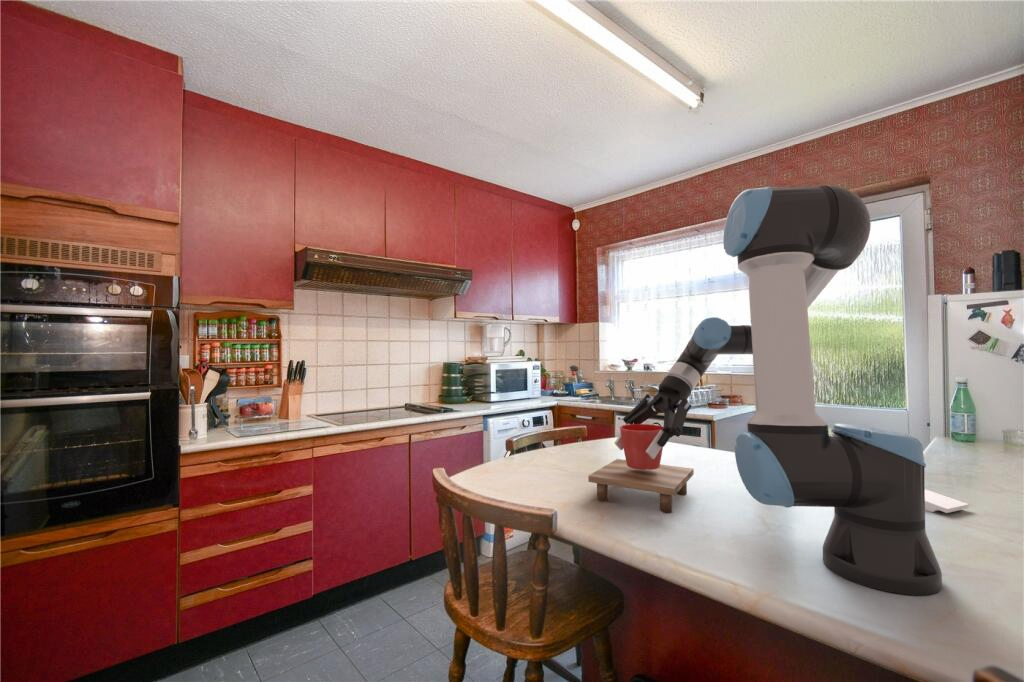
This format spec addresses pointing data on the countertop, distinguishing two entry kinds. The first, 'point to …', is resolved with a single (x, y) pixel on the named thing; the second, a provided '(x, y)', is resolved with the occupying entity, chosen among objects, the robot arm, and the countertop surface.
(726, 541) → the countertop surface
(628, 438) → the flower pot
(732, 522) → the countertop surface
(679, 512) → the countertop surface
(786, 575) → the countertop surface
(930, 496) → the wall bracket
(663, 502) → the walnut stool
